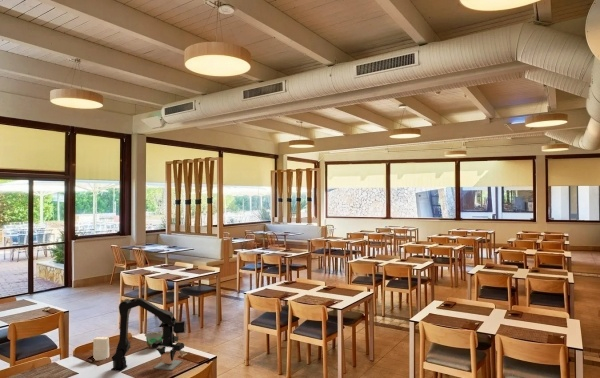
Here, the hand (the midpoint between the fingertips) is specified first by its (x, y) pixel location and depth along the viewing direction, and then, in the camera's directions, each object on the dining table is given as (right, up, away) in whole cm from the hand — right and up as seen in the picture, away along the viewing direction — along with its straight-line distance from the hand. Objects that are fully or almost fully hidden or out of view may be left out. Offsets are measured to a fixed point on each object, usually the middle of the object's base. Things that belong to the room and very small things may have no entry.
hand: (168, 359), depth 241 cm
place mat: (0, -3, 0) cm, 3 cm away
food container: (-18, -4, +27) cm, 33 cm away
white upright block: (-46, -4, +13) cm, 48 cm away
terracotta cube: (0, -1, 0) cm, 1 cm away
